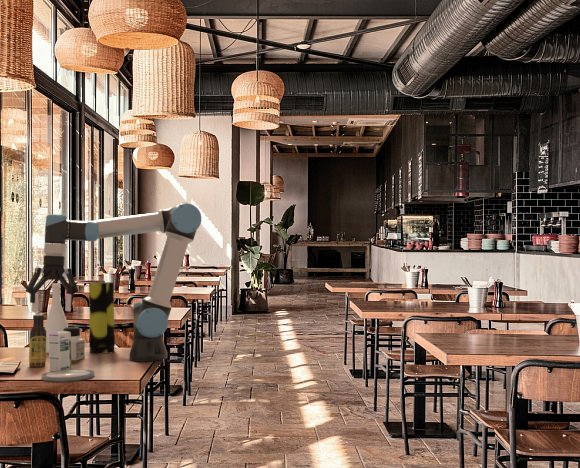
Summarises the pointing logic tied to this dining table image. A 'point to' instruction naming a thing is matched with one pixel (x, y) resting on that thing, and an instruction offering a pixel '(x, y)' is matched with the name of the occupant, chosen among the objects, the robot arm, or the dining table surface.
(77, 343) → the container
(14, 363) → the dining table surface
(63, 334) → the syrup box
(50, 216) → the robot arm
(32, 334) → the sauce bottle
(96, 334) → the container
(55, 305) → the wine bottle
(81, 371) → the dish
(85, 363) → the dining table surface
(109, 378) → the dining table surface
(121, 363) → the dining table surface
